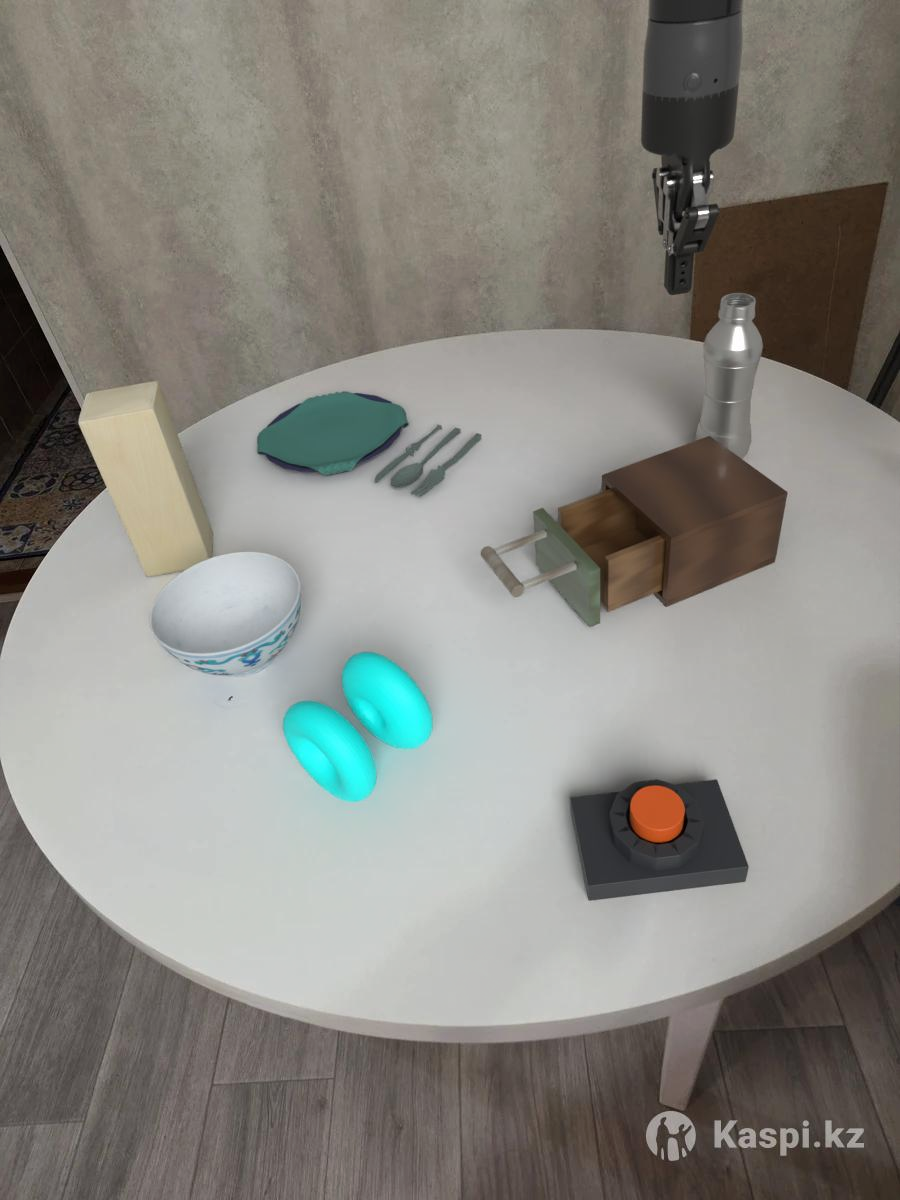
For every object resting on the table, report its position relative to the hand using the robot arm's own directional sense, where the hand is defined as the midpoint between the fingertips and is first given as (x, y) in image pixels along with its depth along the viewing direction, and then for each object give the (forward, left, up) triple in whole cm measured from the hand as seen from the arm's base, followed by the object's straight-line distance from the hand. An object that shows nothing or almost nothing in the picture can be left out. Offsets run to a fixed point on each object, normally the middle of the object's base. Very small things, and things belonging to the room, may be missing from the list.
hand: (677, 290), depth 81 cm
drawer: (+11, +10, -26) cm, 30 cm away
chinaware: (+47, +13, -27) cm, 56 cm away
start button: (+11, +41, -23) cm, 48 cm away
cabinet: (-1, +6, -27) cm, 28 cm away
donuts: (+34, +29, -27) cm, 52 cm away
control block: (+11, +41, -27) cm, 50 cm away
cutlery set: (+35, -24, -27) cm, 50 cm away
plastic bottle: (-10, -11, -27) cm, 31 cm away
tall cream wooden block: (+57, -6, -27) cm, 63 cm away
